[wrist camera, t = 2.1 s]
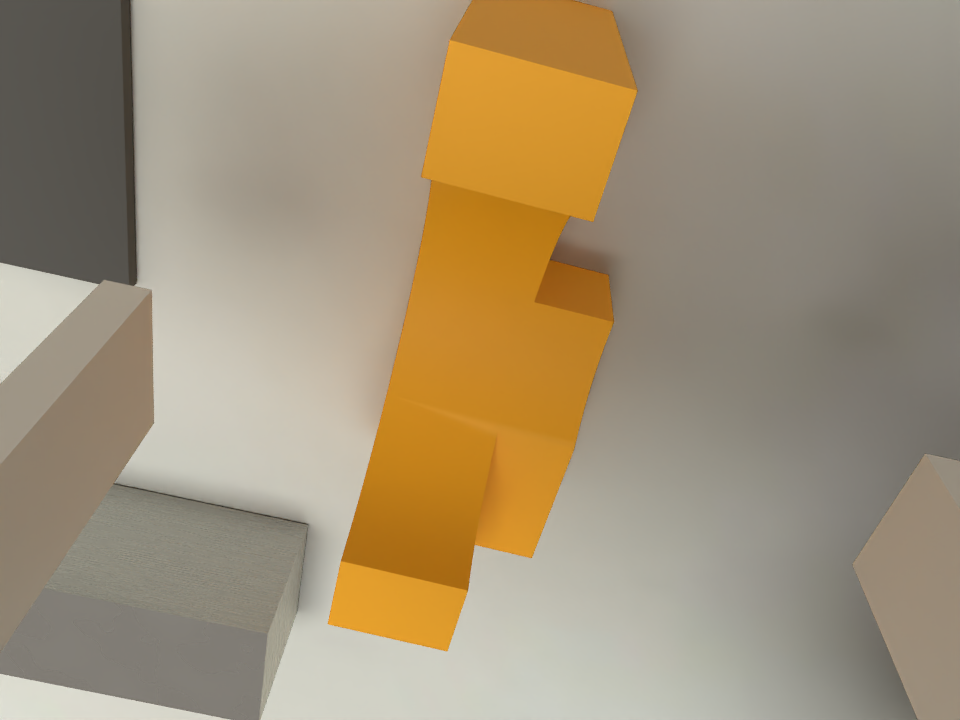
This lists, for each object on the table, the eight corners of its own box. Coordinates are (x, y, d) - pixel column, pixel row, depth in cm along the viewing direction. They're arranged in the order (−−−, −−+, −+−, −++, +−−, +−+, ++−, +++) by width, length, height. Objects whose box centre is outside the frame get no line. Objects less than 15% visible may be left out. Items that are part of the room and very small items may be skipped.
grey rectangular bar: (308, 524, 24) (267, 633, 21) (296, 612, 26) (258, 724, 23) (-167, 425, 24) (-287, 521, 20) (-139, 523, 26) (-244, 625, 22)
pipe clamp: (535, 473, 23) (526, 669, 17) (383, 436, 23) (327, 624, 17) (695, 32, 16) (762, 123, 11) (486, -25, 16) (449, 39, 11)
